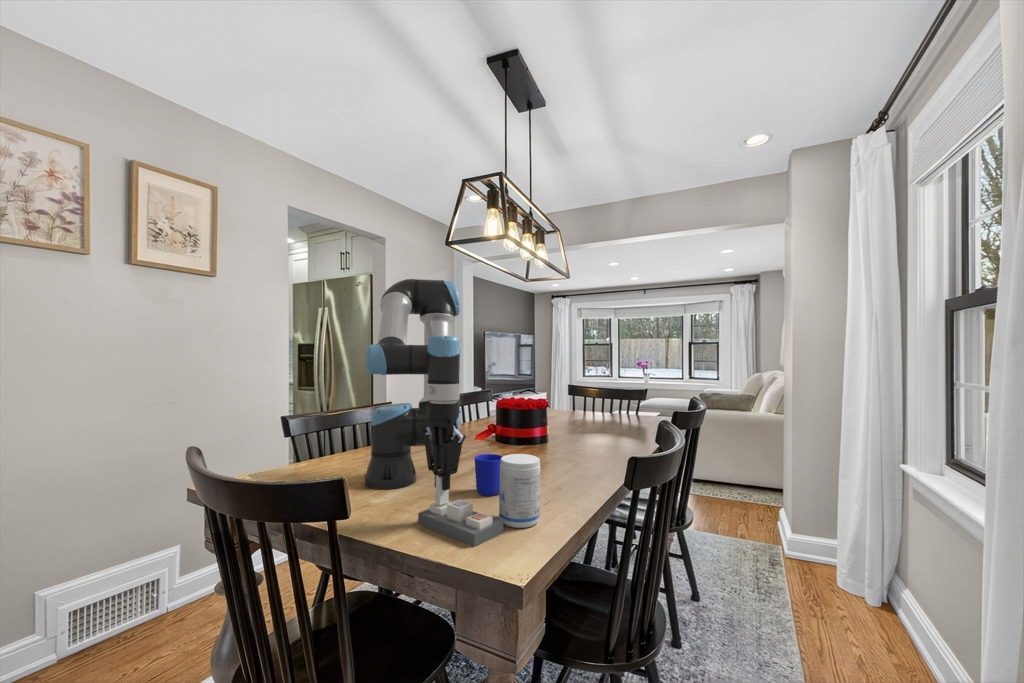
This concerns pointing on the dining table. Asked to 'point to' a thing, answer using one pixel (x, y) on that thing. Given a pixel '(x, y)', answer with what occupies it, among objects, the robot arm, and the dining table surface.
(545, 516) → the dining table surface
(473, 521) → the key
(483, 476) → the mug
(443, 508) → the key
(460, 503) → the key
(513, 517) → the supplement tub
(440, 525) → the keypad base
